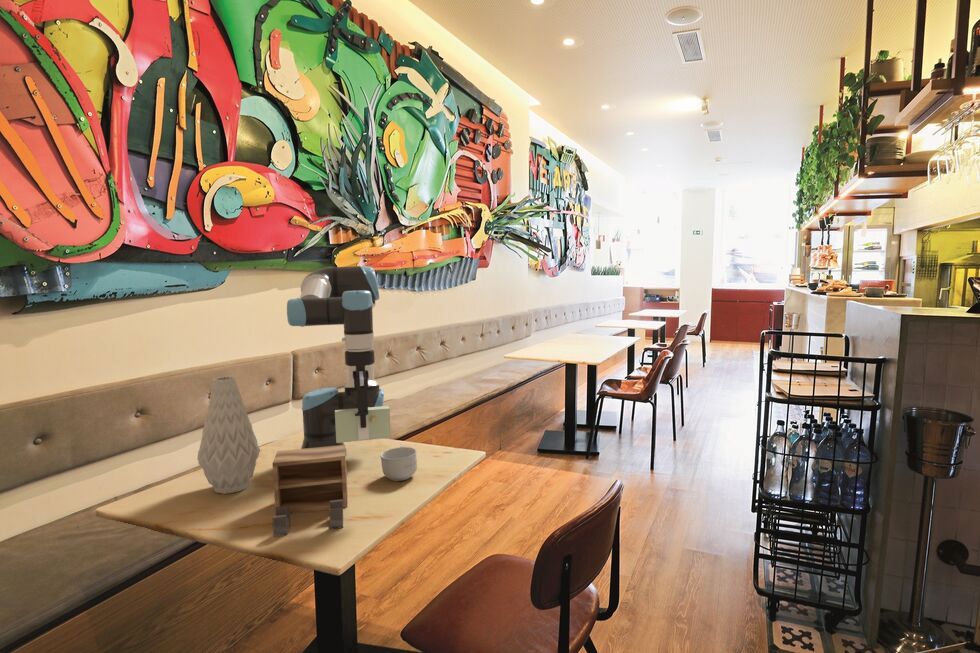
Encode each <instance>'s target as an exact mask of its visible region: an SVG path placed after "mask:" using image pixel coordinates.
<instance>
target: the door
mask: <svg viewBox="0 0 980 653" xmlns="http://www.w3.org/2000/svg"><path fill="white" fill-rule="evenodd" d="M390 410H391V408H390V406H389V405H383V406H380V407H368V426H369V439H363V440H358V419H357V416H355V414H356V413H358V408H356V409H344V410H335V425H336V443H342V442H343V443H350V442H352V443H353V442H361V441H370V440H371V441H372V440H380V439H381V440H382V439H391V438H392V437H391V433H392V431H391V411H390Z"/></svg>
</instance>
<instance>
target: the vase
mask: <svg viewBox="0 0 980 653" xmlns="http://www.w3.org/2000/svg"><path fill="white" fill-rule="evenodd" d="M210 391H211V392H210V396H209V397H210V398H209V402H208V407H207V410H206V411H207V412H206V415H205V420H204V425H203V429H202V435H201V436H202V437H201V440H200V444H199V450H198V451H197V461H198V462H197V463H198V465H199V466H200V468H201V469H202V471H203V474H204V477H205V479H206V480H207V482H208V484H209V485H211V486H212V488H213V491H214V492H215V493H218V494H221V495H222V494H223V495H224V494H226V495H227V494H232V493H238V492H240V491H243V490H245V489H247V488H248V487H249V484H250V481H251V478H253V476H254V473H255V468H256V466H257V460H258V457H259V454H260V453H261V448H260V447H259V443H258V439H257V437H256V435H255V432H254V429H253V425H252V423H251V421H250V418H249V415H248V412H247V409H246V406H245V405H244V402H243V399H242V394H241V392H240V390H239V386H238V384H237V382H236V378H235V376H222V377H221V376H219V377H214V378H213V379H212V387H211V389H210Z"/></svg>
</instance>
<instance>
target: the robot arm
mask: <svg viewBox="0 0 980 653" xmlns="http://www.w3.org/2000/svg"><path fill="white" fill-rule="evenodd" d="M378 300H380V292H379V285H378V279H377V275H376V271H375V269H374V268H373V267H372V266H364V265H363V266H361V265H359V266H357V265H356V266H353V265H352V266H327V267H323V268H318V269H317V270H314V271H313V272H311V273H309V274H307V275H306V276H305V277H304V278H303V280H302V282H301V285H300V296H299V297H297V298H290V299H288V300H287V302H286V317H287V322H288V325H289V326H290V327H302V328H303V327H304V328H305V327H315V326H334V325H336V326H337V325H339V326H340V325H343V334H344V335H343V336H344V337H342V338H341V341H342V342H344V349H345V352H344V363H345V365H346V366H347V368H348V369H347V371H348V382H347V383H346V384H345V385H344V391H339V389H338V388H337V387H334V386H333V387H324V388H319V389H315V390H312V391H310V392H307V393H306V394H304V395H303V397H302V400H301V401H302V402H301V403H302V406H301V411H302V424H303V425H302V426H303V440H302V444H301V447H300V449H306V448H316V447H327V446H338V445H345V442H342V443H336V425H335V410H344V409H356V408H358V413H356V414H355V416H357V419H358V440H363V439H369V426H368V407H380V406H384V397H385V391H384V389H382V388H380V383H379V382H378V381H376V379H375V365H374V363H375V350H374V347H375V339H374V338H375V336H374V321H373V320H374V319H373V316H374V314H373V313H374V312H373V309H374V308H375V307H376V301H378ZM363 441H364V440H363ZM345 451H346V452H347V449H346V447H345Z"/></svg>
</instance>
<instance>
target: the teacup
mask: <svg viewBox="0 0 980 653" xmlns="http://www.w3.org/2000/svg"><path fill="white" fill-rule="evenodd" d="M417 459H418V458H417V449H416V448H414V447H411V446H410V447H409V446H408V447H407V446H405V445H400V446H399V447H394V448H390V449H386V450H384V451H383V452H382V453H381V454H380V461H381V468H382V473H383V475H384V476H385V477H386V478H387V479H389V480H391V481H392V482H393V481H394V482H399V481H400V482H402V481H405V480H406V481H407V480H409V479H410V478H411V477H412V476H413V475H415V473H416V471H417V469H418V460H417Z"/></svg>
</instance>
